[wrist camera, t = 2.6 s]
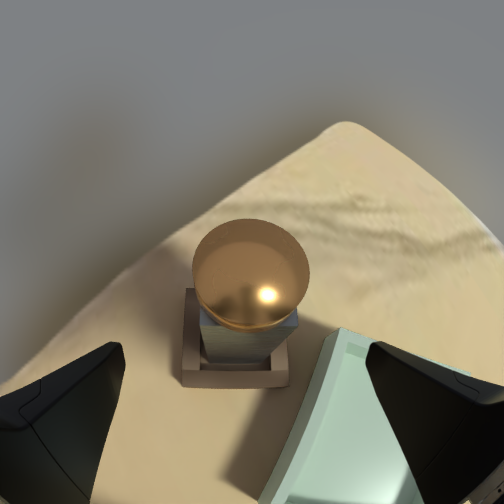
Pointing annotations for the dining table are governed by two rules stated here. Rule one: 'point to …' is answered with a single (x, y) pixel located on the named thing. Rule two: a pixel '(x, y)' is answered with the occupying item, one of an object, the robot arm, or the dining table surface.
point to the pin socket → (225, 375)
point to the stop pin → (248, 289)
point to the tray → (342, 437)
